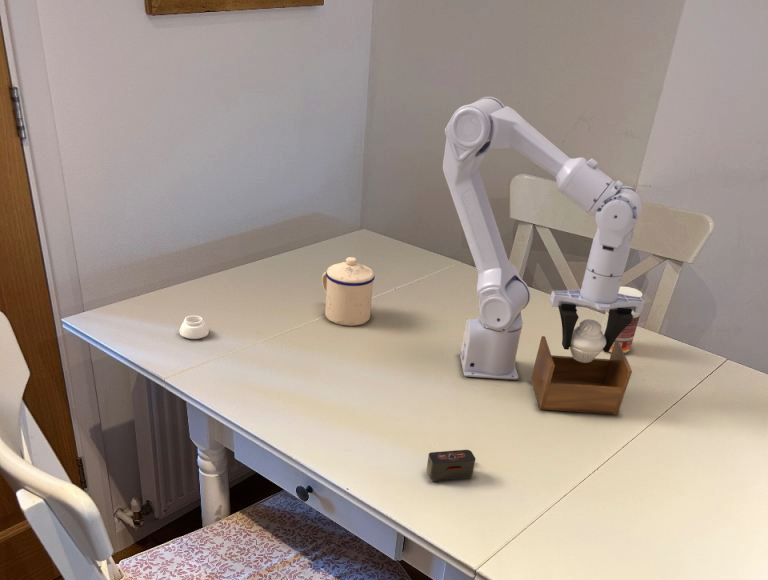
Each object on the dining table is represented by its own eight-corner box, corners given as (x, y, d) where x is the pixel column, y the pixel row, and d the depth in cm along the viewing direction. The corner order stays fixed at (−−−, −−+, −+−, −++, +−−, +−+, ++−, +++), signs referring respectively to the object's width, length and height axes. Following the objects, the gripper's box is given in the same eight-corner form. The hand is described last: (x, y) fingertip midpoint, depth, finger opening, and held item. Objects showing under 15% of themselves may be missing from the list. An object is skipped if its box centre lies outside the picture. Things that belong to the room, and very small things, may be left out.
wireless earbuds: (478, 478, 111) (482, 460, 109) (430, 483, 109) (433, 464, 107) (467, 459, 114) (471, 441, 112) (421, 463, 112) (423, 445, 111)
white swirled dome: (564, 363, 128) (573, 324, 124) (563, 347, 133) (572, 309, 129) (602, 369, 128) (613, 330, 124) (599, 353, 133) (610, 315, 129)
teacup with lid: (380, 319, 151) (386, 261, 145) (346, 331, 146) (349, 271, 139) (339, 297, 158) (342, 241, 151) (304, 308, 152) (306, 250, 146)
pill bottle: (636, 351, 149) (653, 295, 143) (614, 357, 146) (630, 301, 140) (612, 337, 153) (627, 283, 147) (590, 343, 150) (604, 288, 144)
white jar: (204, 342, 137) (212, 330, 141) (203, 327, 136) (211, 315, 140) (175, 338, 137) (184, 326, 141) (174, 323, 136) (183, 311, 140)
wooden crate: (617, 414, 129) (632, 371, 123) (539, 409, 128) (551, 365, 122) (605, 383, 136) (618, 341, 130) (531, 378, 135) (541, 335, 129)
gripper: (564, 276, 118) (546, 356, 126) (658, 283, 119) (634, 362, 126) (555, 259, 124) (538, 336, 131) (644, 265, 125) (622, 342, 132)
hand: (584, 348), depth 129 cm, fingers closed on white swirled dome, 6 cm apart
